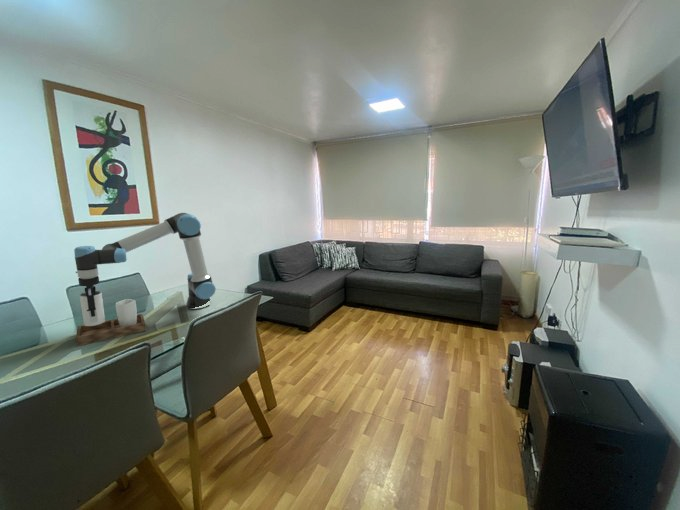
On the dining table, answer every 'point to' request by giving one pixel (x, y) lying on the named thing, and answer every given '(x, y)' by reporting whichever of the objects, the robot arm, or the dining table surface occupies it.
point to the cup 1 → (98, 307)
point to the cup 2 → (126, 312)
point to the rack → (107, 330)
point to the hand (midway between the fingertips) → (94, 318)
